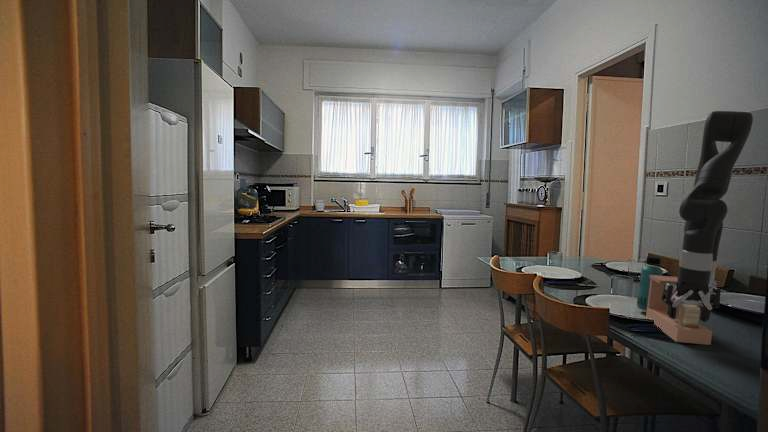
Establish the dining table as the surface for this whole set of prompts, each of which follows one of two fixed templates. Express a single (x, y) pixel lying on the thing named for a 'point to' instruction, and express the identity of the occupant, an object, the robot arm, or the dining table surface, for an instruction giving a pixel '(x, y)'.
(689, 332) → the socket stand
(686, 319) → the peg
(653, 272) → the beverage bottle
